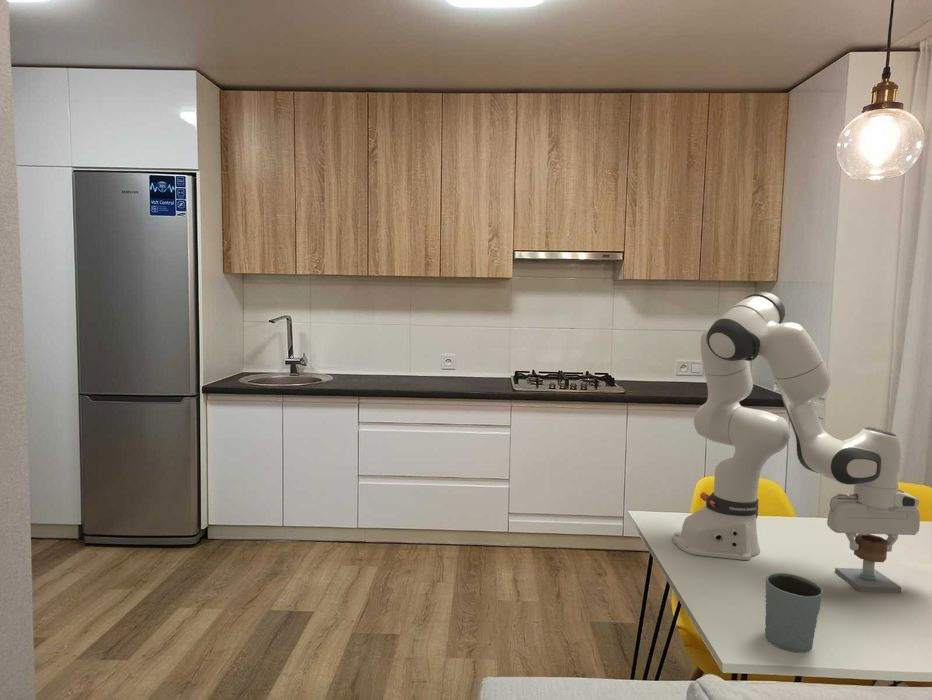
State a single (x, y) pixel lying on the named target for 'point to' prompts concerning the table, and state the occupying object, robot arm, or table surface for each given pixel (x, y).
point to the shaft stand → (868, 578)
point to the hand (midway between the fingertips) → (870, 550)
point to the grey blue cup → (791, 611)
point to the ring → (871, 547)
